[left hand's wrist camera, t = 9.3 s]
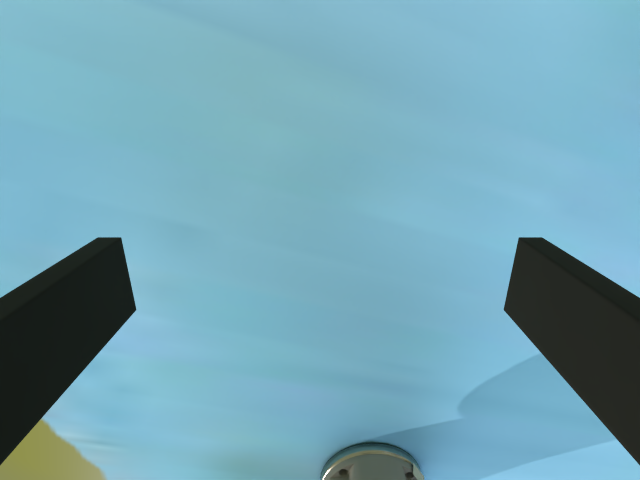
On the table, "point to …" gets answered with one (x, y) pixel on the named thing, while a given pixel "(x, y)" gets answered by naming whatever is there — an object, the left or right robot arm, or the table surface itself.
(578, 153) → the table surface
